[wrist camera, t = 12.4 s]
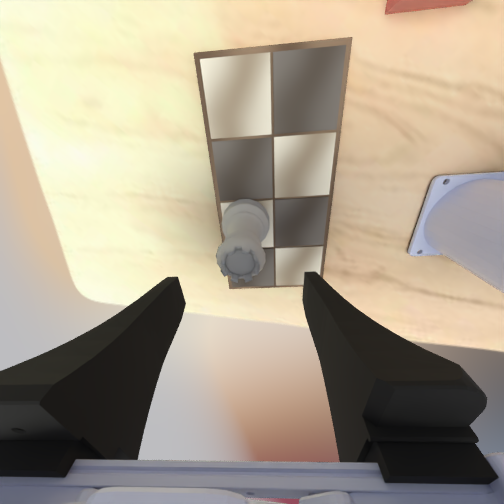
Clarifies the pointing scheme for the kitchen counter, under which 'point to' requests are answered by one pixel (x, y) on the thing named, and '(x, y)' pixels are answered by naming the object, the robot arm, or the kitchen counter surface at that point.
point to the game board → (277, 144)
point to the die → (420, 5)
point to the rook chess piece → (243, 240)
